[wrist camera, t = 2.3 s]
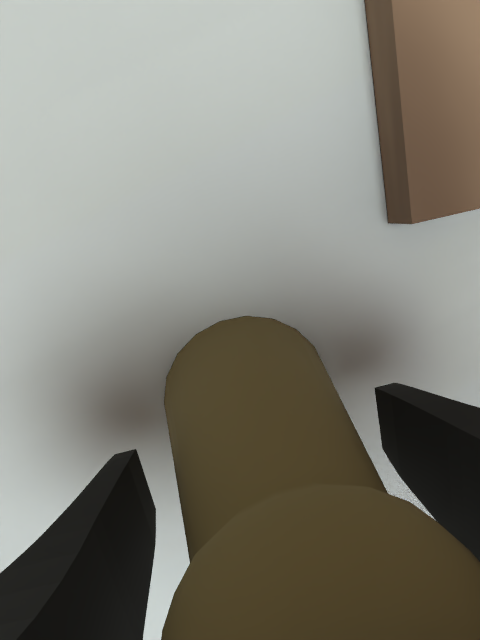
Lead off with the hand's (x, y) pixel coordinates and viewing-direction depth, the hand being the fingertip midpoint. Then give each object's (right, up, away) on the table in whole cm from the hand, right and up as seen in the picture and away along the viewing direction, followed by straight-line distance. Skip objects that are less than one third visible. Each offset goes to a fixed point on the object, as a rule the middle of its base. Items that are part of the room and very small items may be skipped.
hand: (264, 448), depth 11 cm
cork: (0, +1, +3) cm, 4 cm away
